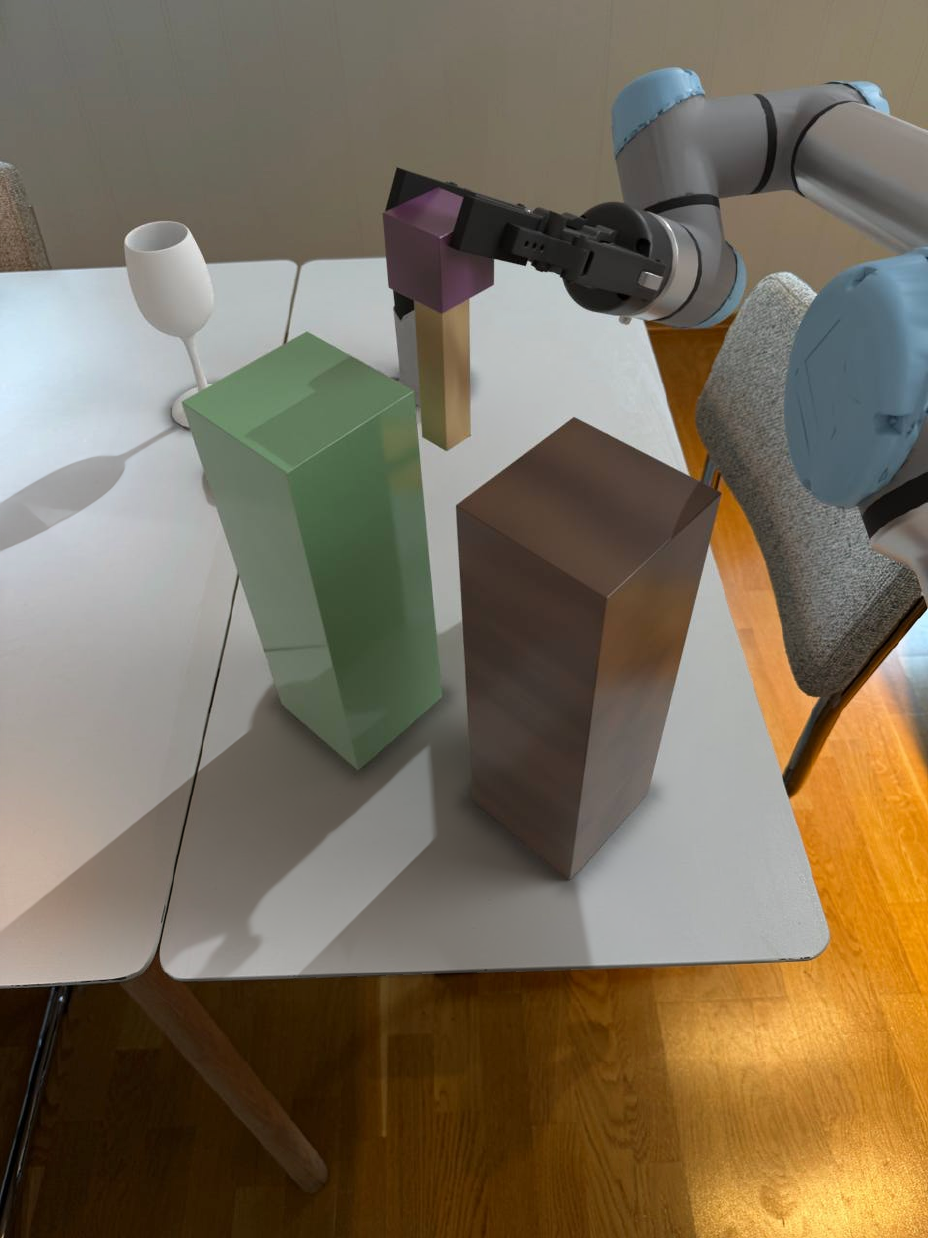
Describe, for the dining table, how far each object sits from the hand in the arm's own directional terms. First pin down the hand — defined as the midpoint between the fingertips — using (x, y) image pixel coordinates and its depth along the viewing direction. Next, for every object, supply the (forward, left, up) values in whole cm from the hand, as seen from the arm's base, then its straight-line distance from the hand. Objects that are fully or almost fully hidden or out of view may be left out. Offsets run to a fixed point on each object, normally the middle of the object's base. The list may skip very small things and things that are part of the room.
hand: (427, 208), depth 49 cm
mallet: (-1, +1, -8) cm, 8 cm away
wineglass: (+34, +36, -41) cm, 64 cm away
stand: (-12, -10, -41) cm, 44 cm away
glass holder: (+44, +11, -41) cm, 61 cm away
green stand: (-5, +8, -41) cm, 42 cm away
